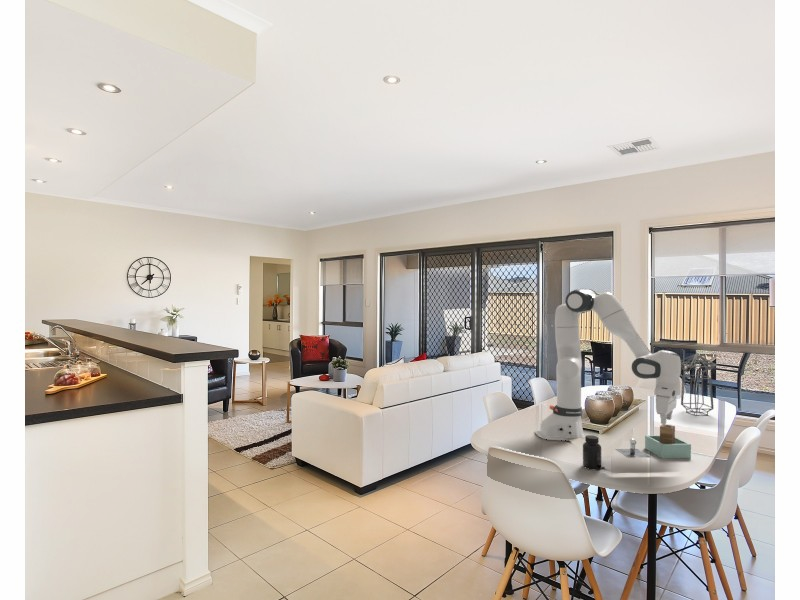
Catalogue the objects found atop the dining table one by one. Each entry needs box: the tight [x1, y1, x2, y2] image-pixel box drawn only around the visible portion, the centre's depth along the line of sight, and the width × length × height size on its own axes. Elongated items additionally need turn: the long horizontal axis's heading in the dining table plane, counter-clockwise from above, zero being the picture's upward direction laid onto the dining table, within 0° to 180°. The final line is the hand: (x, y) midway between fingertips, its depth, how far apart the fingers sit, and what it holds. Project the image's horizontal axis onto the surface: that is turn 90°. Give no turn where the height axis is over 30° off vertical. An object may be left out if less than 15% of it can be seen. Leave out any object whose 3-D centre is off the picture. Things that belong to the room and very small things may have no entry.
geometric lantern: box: [680, 353, 718, 417], centre depth 258 cm, size 16×16×35 cm
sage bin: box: [644, 434, 692, 460], centre depth 188 cm, size 12×12×7 cm
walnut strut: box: [659, 423, 676, 444], centre depth 188 cm, size 5×5×12 cm
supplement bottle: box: [582, 434, 603, 470], centre depth 175 cm, size 7×7×12 cm
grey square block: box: [615, 438, 651, 459], centre depth 187 cm, size 10×10×8 cm
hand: (666, 421), depth 188 cm, fingers open, 8 cm apart
